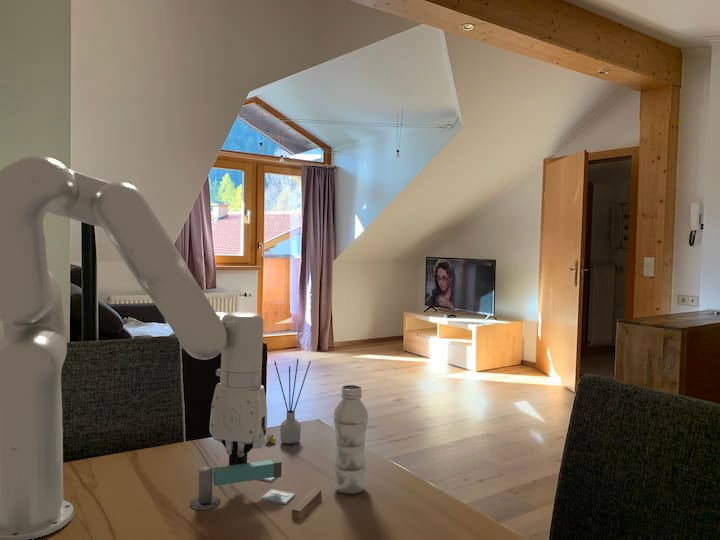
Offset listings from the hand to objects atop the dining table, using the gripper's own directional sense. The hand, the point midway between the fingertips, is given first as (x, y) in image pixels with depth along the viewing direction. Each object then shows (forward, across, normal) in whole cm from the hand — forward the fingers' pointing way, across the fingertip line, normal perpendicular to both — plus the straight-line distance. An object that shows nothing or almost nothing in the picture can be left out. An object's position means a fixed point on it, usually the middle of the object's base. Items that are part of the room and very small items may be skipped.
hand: (237, 473), depth 103 cm
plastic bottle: (+3, +20, +8) cm, 22 cm away
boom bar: (+3, +2, -2) cm, 4 cm away
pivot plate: (+3, -2, -6) cm, 8 cm away
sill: (+3, +15, -1) cm, 15 cm away
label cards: (+3, +5, +4) cm, 7 cm away
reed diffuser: (+3, -2, +25) cm, 25 cm away
